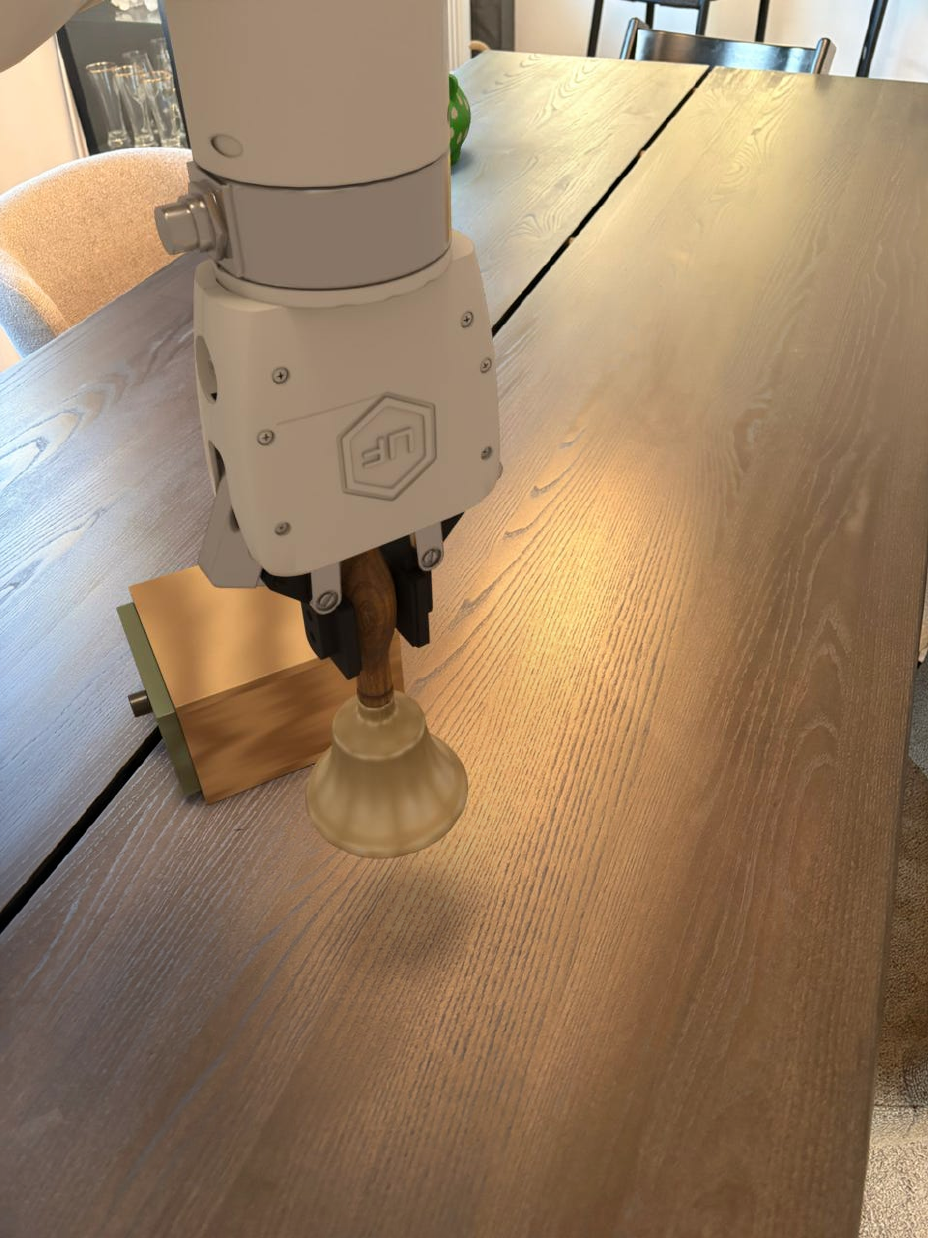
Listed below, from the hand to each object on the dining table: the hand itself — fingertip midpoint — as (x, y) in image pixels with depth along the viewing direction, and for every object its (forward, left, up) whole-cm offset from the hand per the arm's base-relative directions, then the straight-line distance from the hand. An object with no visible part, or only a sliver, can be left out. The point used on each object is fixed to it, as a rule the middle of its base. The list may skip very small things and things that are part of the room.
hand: (372, 640), depth 42 cm
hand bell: (0, 0, -11) cm, 11 cm away
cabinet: (+8, +18, -23) cm, 30 cm away
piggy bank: (+109, +80, -23) cm, 137 cm away
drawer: (+6, +19, -22) cm, 30 cm away
